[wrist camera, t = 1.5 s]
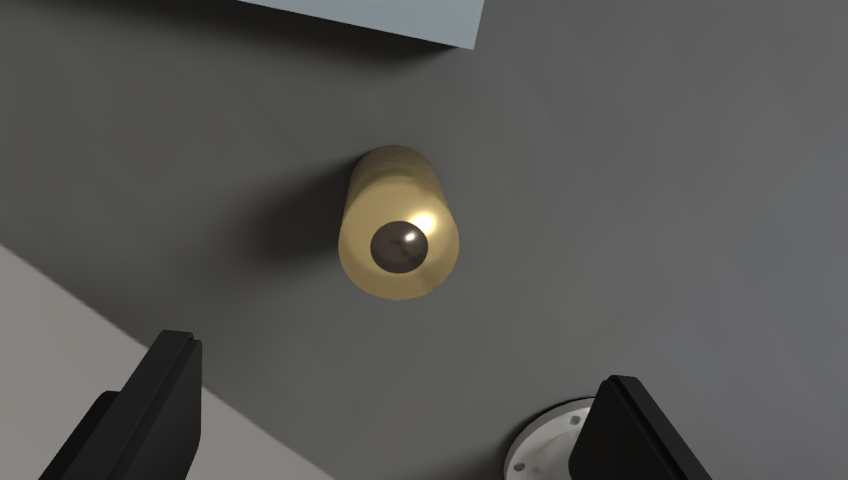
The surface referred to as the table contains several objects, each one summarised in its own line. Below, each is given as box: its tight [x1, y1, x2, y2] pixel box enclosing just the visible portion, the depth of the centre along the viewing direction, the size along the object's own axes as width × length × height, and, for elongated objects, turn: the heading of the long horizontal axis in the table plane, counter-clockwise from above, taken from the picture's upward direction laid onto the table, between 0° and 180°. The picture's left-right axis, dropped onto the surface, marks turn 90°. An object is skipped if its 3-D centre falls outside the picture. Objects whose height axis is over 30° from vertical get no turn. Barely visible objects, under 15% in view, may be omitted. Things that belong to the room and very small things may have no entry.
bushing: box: [338, 145, 459, 300], centre depth 24 cm, size 5×5×8 cm
